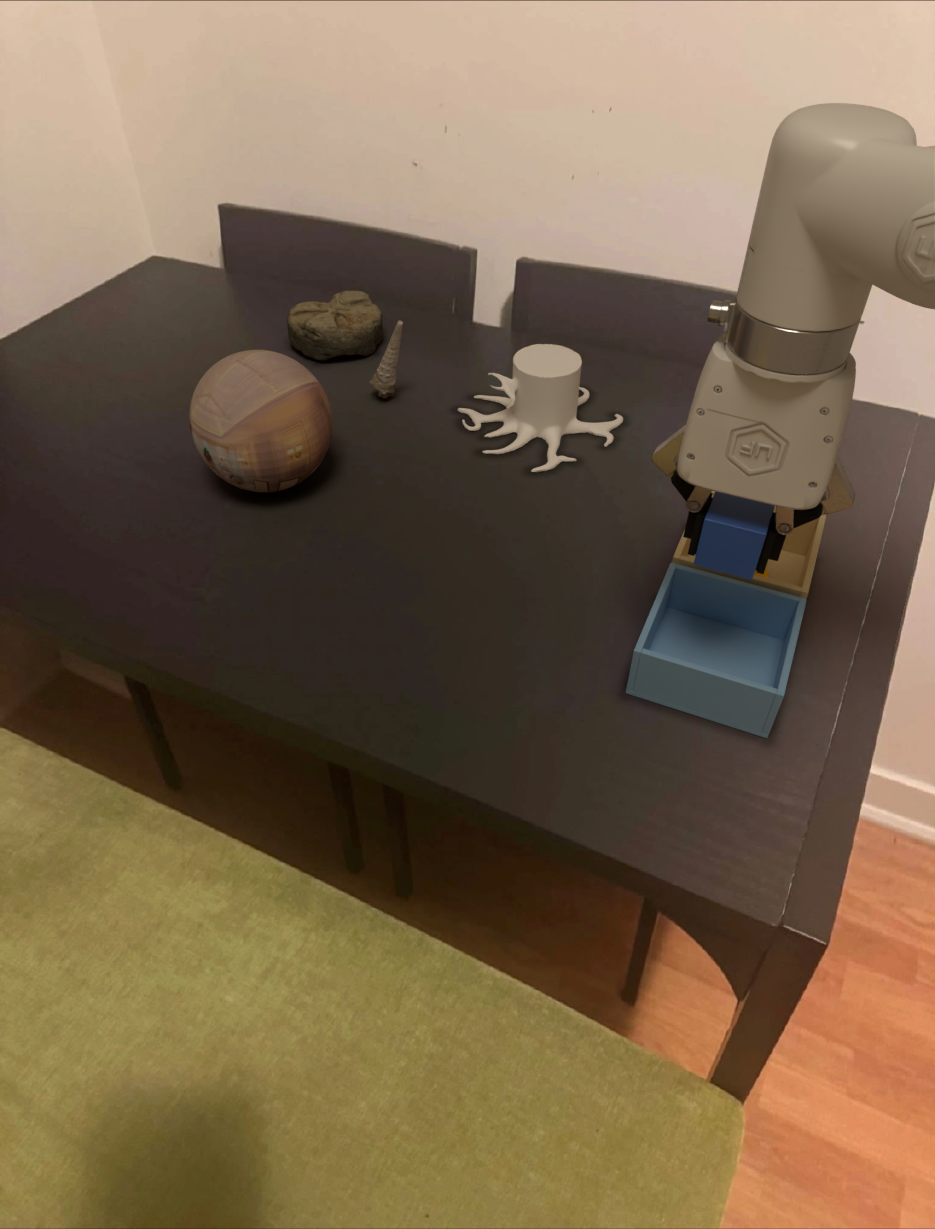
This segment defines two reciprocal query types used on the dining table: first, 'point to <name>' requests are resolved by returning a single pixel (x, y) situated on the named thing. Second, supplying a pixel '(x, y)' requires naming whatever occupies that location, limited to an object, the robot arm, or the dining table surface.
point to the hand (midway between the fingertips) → (729, 551)
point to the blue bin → (717, 649)
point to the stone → (336, 326)
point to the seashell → (388, 365)
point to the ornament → (260, 420)
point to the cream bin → (783, 574)
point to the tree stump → (541, 402)
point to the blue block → (733, 535)
